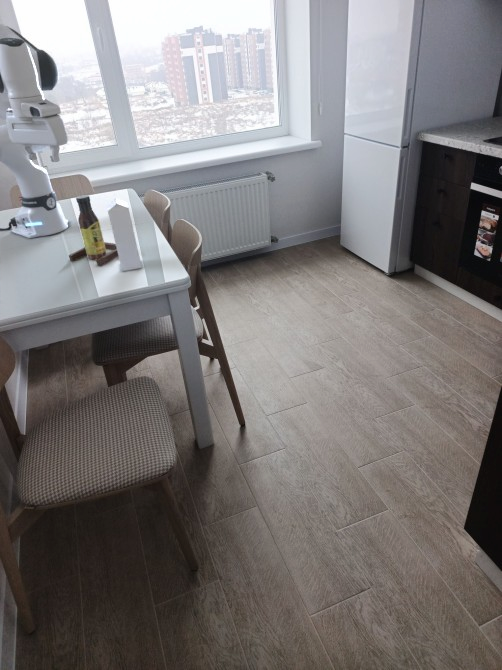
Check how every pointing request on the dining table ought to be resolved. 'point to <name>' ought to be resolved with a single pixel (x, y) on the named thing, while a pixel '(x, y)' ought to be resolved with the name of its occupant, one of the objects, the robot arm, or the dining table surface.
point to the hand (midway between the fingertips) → (44, 160)
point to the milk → (124, 235)
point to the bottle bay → (101, 260)
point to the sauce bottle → (90, 229)
